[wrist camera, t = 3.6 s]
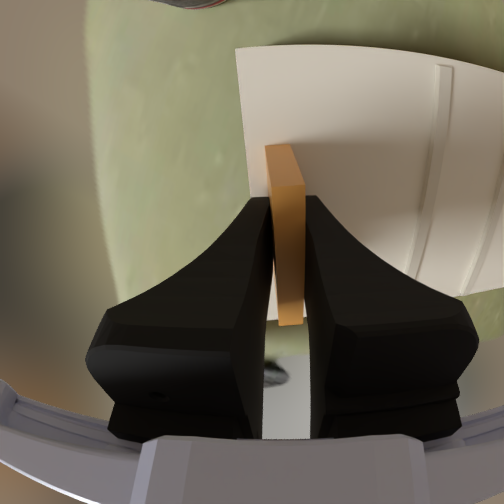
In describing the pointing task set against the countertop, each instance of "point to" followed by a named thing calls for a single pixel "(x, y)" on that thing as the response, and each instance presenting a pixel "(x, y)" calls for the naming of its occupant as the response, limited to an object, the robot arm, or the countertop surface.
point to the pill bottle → (191, 3)
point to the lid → (377, 160)
